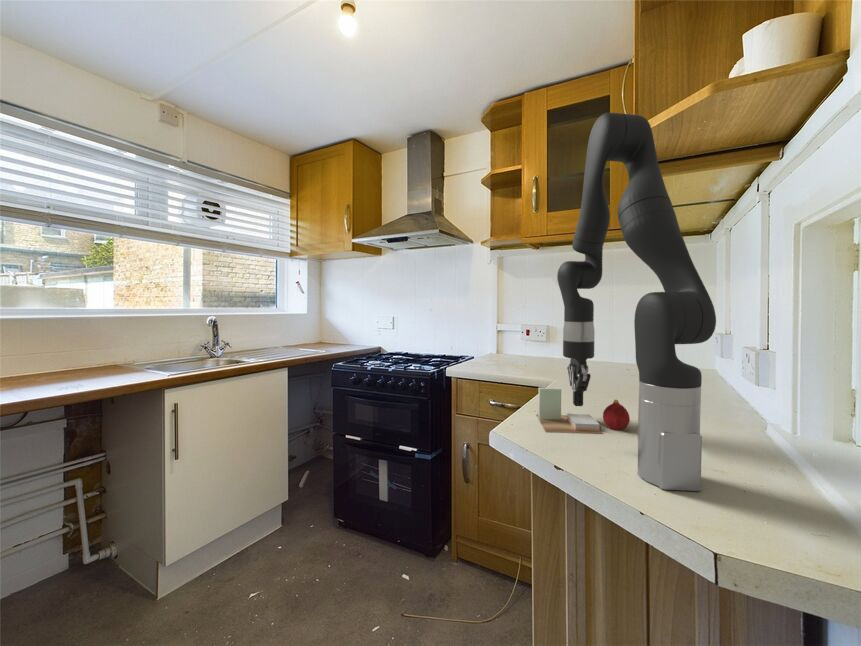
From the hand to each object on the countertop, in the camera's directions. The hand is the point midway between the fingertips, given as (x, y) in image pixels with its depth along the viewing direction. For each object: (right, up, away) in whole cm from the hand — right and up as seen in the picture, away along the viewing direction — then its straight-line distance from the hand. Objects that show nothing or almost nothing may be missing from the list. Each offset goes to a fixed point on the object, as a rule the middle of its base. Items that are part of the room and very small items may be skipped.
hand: (577, 405), depth 96 cm
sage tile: (-7, -4, +2) cm, 8 cm away
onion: (+7, -5, -6) cm, 11 cm away
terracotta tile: (0, -3, 0) cm, 3 cm away
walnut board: (-4, -5, -3) cm, 7 cm away
